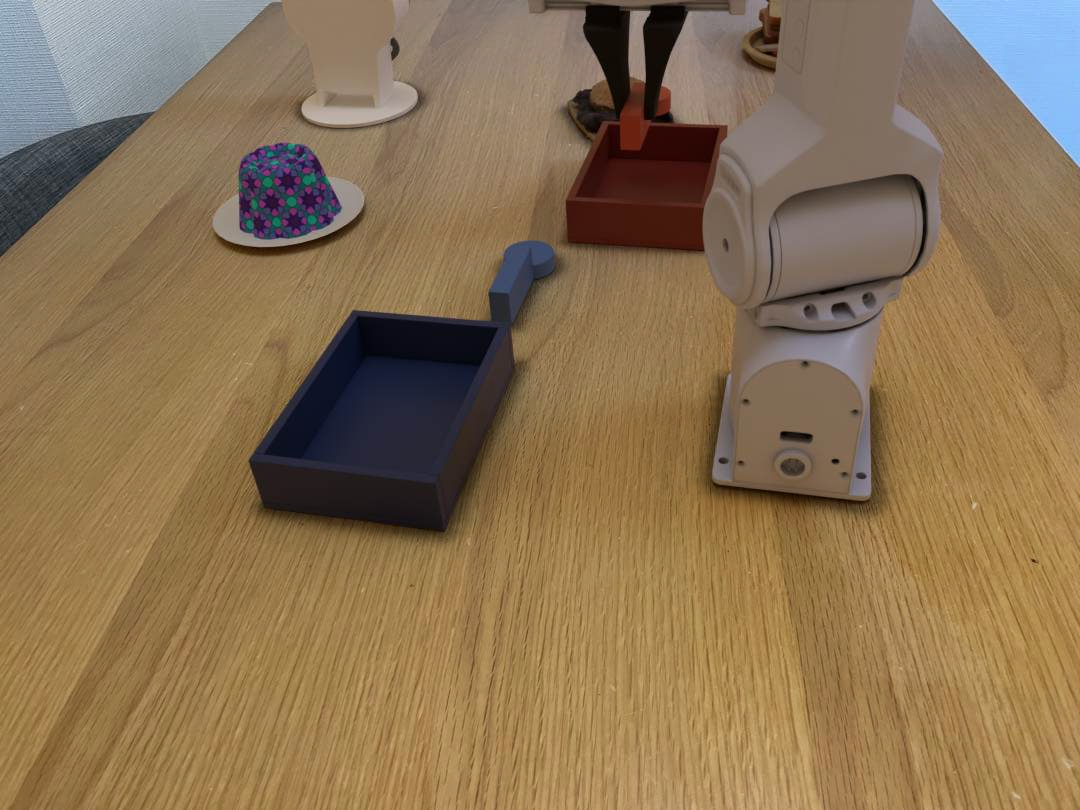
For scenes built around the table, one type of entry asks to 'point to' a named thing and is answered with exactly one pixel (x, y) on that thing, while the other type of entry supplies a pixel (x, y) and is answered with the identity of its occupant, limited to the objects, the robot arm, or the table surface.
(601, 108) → the bread roll
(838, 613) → the table surface
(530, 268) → the blue spoon
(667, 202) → the red bin
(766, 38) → the toy sandwich meal
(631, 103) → the red spoon
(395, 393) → the blue bin
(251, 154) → the pudding
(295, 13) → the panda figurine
